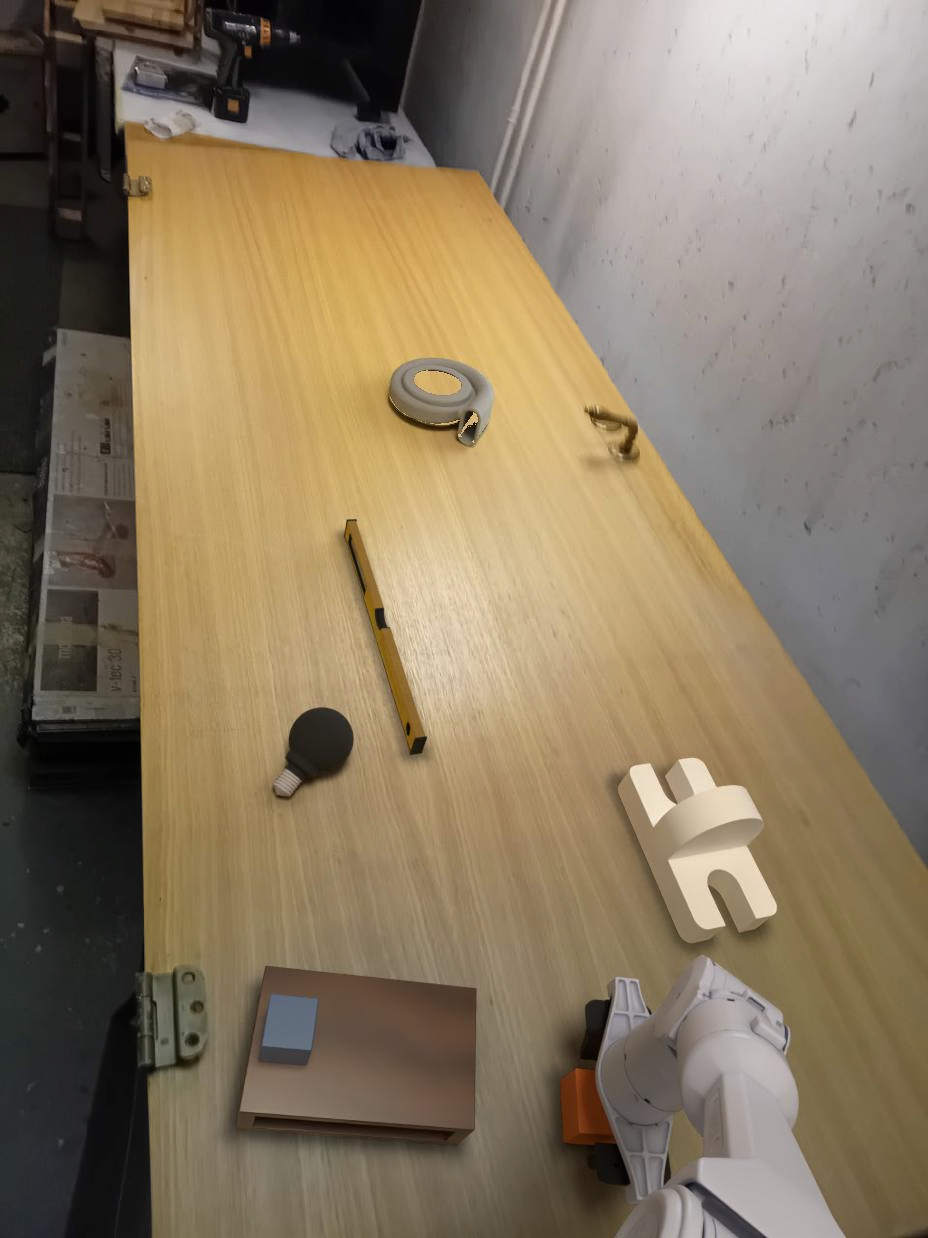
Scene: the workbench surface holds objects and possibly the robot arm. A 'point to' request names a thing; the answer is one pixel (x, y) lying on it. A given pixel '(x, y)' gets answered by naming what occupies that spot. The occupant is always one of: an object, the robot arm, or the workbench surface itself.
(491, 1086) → the workbench surface
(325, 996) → the shelf
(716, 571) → the workbench surface
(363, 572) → the spirit level
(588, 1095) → the orange box
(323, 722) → the light bulb
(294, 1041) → the blue box
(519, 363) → the workbench surface
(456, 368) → the turbocharger housing
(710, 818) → the cream double-notched bracket
